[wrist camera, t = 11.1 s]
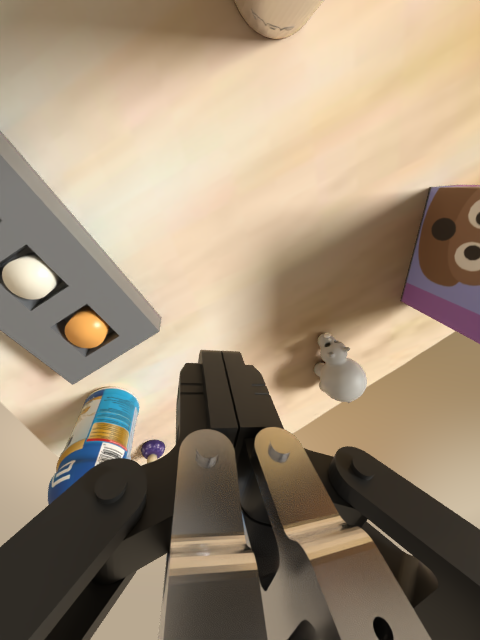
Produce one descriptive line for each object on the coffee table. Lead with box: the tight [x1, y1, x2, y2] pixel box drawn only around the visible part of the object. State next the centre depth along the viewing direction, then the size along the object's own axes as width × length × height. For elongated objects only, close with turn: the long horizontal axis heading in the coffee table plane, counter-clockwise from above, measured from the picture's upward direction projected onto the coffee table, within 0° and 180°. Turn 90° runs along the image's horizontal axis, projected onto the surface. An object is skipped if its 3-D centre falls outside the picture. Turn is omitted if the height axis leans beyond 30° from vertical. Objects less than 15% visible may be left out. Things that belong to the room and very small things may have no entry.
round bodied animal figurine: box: [314, 333, 367, 403], centre depth 44 cm, size 7×12×8 cm, turn 16°
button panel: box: [0, 131, 161, 385], centre depth 30 cm, size 26×14×4 cm, turn 30°
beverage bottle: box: [48, 387, 139, 504], centre depth 34 cm, size 8×8×20 cm
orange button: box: [65, 306, 110, 348], centre depth 33 cm, size 4×4×3 cm
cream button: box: [2, 253, 62, 299], centre depth 29 cm, size 4×4×3 cm
